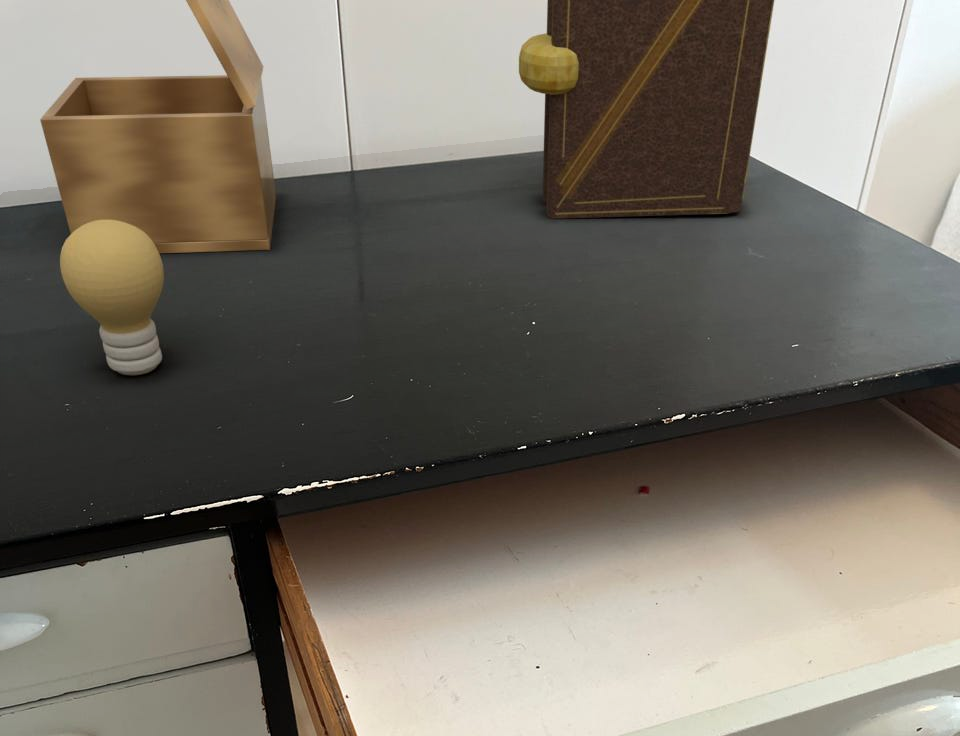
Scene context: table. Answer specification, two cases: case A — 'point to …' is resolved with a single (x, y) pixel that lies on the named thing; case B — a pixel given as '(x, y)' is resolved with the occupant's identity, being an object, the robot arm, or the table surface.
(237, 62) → the lid
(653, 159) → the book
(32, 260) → the table surface
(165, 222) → the chest
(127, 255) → the light bulb
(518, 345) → the table surface
